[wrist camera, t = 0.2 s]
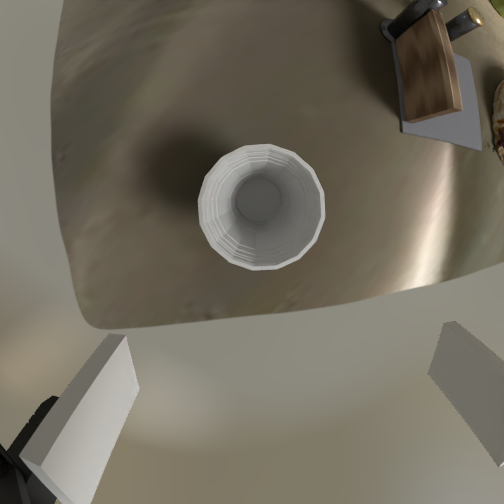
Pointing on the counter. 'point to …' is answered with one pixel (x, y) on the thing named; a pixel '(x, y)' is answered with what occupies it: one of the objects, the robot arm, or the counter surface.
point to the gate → (428, 70)
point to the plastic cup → (261, 207)
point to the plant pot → (498, 6)
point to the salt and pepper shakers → (421, 7)
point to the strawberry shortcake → (499, 120)
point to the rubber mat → (450, 125)
